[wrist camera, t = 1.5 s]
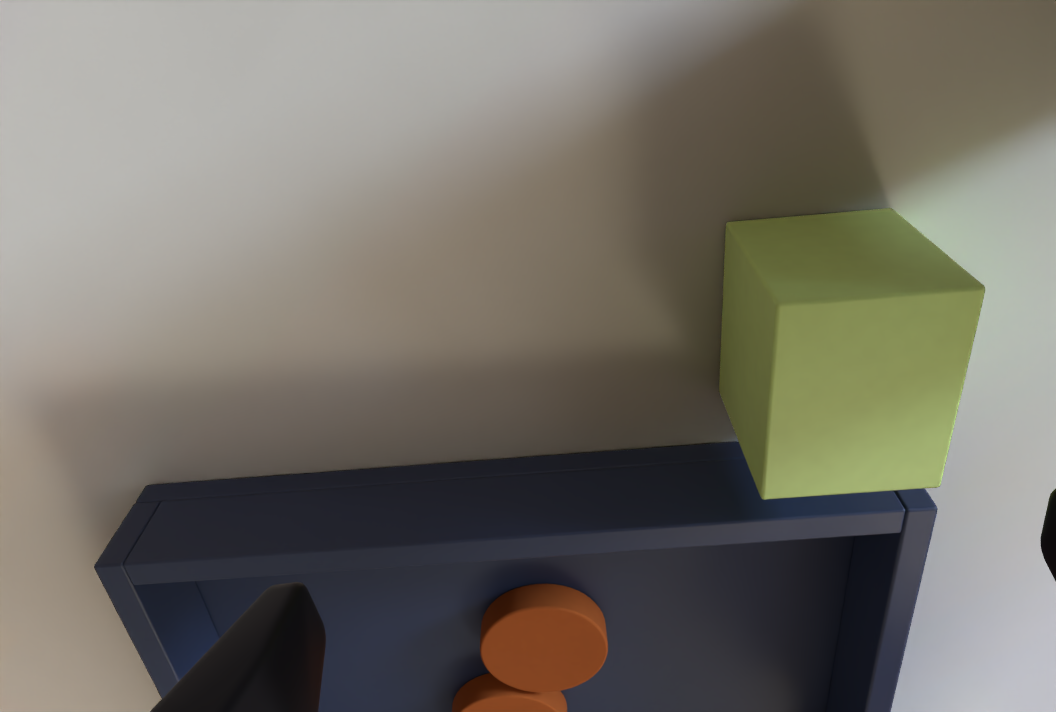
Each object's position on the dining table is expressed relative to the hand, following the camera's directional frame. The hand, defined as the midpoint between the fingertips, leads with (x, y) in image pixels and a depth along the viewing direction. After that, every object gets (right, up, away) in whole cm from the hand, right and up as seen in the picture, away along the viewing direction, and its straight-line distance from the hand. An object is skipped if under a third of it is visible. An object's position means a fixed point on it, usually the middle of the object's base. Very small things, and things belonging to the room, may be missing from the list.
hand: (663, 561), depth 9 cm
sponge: (+5, +4, +11) cm, 12 cm away
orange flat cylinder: (-1, -6, +16) cm, 17 cm away
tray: (-2, -7, +17) cm, 19 cm away
